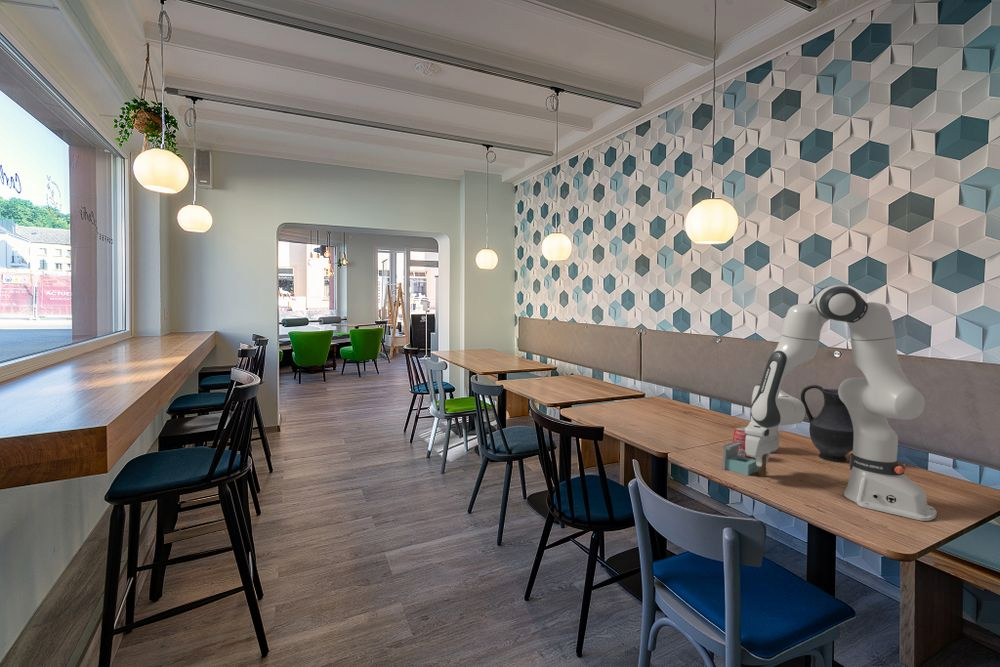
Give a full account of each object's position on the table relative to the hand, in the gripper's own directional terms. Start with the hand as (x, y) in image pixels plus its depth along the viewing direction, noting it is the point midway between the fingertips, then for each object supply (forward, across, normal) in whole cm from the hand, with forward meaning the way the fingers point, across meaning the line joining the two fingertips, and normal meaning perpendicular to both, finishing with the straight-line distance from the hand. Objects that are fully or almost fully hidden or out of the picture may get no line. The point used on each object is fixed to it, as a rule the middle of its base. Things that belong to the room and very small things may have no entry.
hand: (761, 464), depth 171 cm
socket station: (+4, 0, -7) cm, 8 cm away
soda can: (+4, -16, -14) cm, 22 cm away
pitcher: (+4, -46, +7) cm, 47 cm away
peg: (+4, 0, 0) cm, 4 cm away
